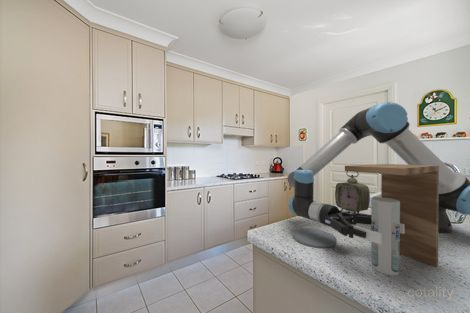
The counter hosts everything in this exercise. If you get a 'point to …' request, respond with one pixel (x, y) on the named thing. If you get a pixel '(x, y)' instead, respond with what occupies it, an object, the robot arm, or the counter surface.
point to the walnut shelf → (412, 205)
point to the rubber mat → (314, 238)
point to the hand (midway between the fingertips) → (393, 233)
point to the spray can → (386, 235)
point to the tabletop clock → (352, 195)
